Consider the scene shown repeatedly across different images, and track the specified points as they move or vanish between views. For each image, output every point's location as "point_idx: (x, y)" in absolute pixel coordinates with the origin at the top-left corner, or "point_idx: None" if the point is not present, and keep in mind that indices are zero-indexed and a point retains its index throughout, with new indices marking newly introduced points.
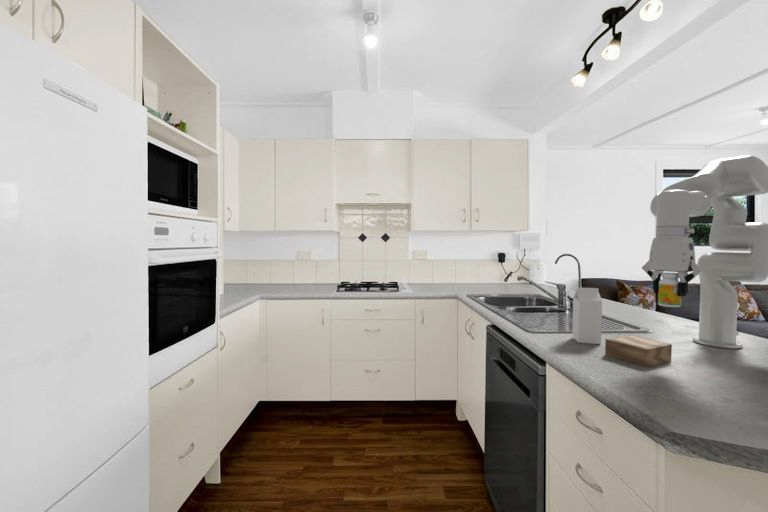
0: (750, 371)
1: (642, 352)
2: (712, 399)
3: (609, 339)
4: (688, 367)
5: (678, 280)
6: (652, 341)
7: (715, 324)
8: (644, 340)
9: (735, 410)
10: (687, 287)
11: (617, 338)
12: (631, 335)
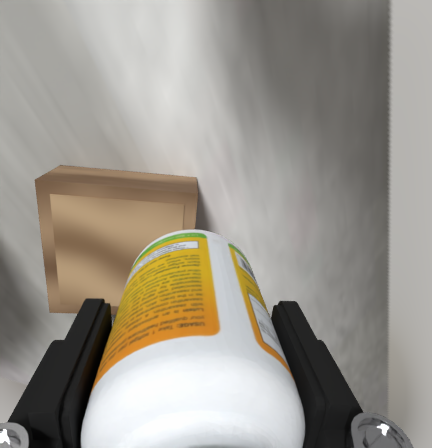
0: (366, 78)
1: None
2: (330, 353)
3: (60, 308)
4: (247, 198)
5: (278, 446)
6: (145, 216)
7: None
8: (123, 226)
9: (360, 366)
10: (342, 383)
11: (63, 279)
12: (45, 184)
